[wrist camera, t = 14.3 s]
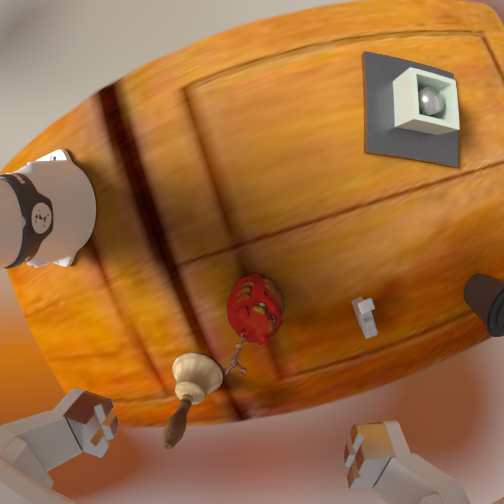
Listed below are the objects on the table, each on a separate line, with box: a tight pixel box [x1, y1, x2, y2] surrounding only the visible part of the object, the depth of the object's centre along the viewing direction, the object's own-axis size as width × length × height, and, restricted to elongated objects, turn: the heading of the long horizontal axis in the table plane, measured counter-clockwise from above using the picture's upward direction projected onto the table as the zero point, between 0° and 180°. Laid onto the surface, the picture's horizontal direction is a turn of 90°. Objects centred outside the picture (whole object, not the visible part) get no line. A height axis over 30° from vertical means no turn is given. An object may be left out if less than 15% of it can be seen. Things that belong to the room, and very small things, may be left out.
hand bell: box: [163, 353, 223, 449], centre depth 37 cm, size 8×8×16 cm
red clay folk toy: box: [225, 273, 284, 377], centre depth 33 cm, size 8×7×15 cm
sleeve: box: [393, 67, 460, 135], centre depth 28 cm, size 6×6×6 cm
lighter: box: [351, 296, 377, 339], centre depth 35 cm, size 7×2×8 cm, turn 24°
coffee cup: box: [464, 273, 504, 337], centre depth 32 cm, size 8×8×10 cm
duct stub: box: [361, 51, 458, 167], centre depth 29 cm, size 14×14×6 cm
